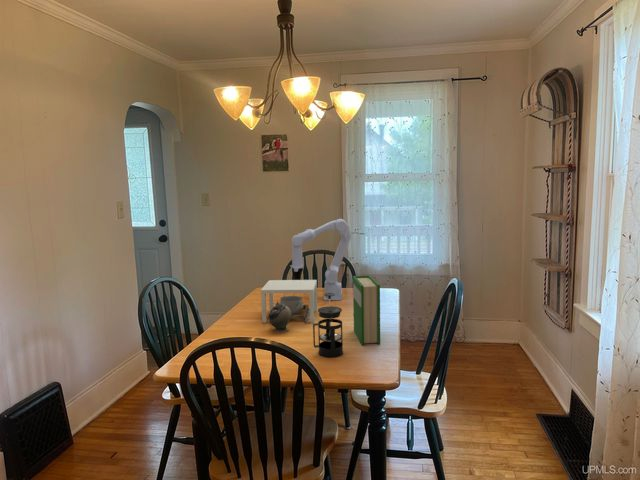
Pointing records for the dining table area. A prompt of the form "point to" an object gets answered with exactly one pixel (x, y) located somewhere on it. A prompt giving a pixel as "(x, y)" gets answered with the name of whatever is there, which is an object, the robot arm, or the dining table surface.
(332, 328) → the french press
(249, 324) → the dining table surface
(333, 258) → the robot arm
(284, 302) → the teacup
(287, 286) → the shelf
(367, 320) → the hardback book
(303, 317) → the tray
